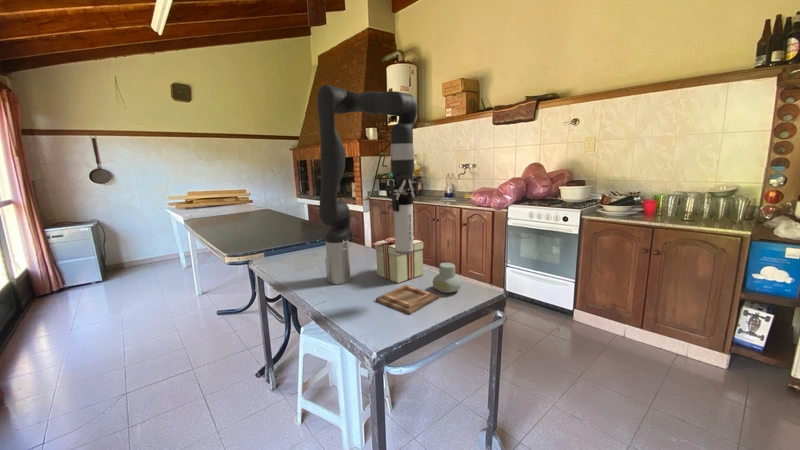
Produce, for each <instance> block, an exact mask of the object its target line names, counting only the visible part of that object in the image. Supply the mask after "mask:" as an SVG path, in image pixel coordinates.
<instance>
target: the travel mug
mask: <svg viewBox="0 0 800 450" xmlns="http://www.w3.org/2000/svg"><path fill="white" fill-rule="evenodd" d="M396 194H397V193H396ZM396 194H395V196H396ZM413 199H414V198H413V197H412V196H409V195H406V194H403V193H401V194H400V196H399V199H398V200H399V211H397V212H396V211H393V218H394V220H393V222H394V238H395V252H396V253H397V254H401V255H407V254H411V253H413V236H414V213H413V212H414V205H413V202H412V201H413ZM412 205H413V206H412Z"/></svg>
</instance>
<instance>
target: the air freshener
mask: <svg viewBox="0 0 800 450" xmlns="http://www.w3.org/2000/svg"><path fill="white" fill-rule="evenodd" d="M462 285H463V283H462V279H461V277H459V276H458V275H457V274H456V265H455V264H454V263H452V262H442V263H440V264H439V271H438V274H437V275H436V276H434V278H433V279H432V286H433V287H434V288H435V289H436V290H437V291H439V292H440V293H442V294H443V293H444V294H451V293H454V292H455V293H456V292H457V291H458V290H460V289H461V288H462Z"/></svg>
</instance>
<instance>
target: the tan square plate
mask: <svg viewBox="0 0 800 450" xmlns="http://www.w3.org/2000/svg"><path fill="white" fill-rule="evenodd" d="M439 299H440V295H439V294H435V293H433V292H429V291H426V290H423V289H420V288H417V287H414V286H411V285H407V284H404V285H402V286H400V287H398V288H394V289H393V290H391V291H389V292H386V293H384V294H381V295H380V296H378V297H376V298H375V301H376V302H378V303H380V304H382V305H386V306H387V307H390V308H393V309H395V310H398V311H401V312H403V313H406V314H407V315H408V314H409V315H412V314H414V313H416V312H417V311H419V310H421V309H423V308H424V307H426V306H428V305H430V304H431V303H433V302H435V301H437V300H439Z"/></svg>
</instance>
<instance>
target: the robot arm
mask: <svg viewBox="0 0 800 450" xmlns="http://www.w3.org/2000/svg"><path fill="white" fill-rule="evenodd" d="M316 97H317V98H316V99H317V100H316V101H317V103H316V105H317V113H318V123H319V137H320V195H319V205H318V206H319V208H318V212H319V213H318V214H319V218H320V221H321V223H323V225H325V226H330V228H329V230H327V232H326V233H325V235H324V239H325V240H324V241H325V252H326V253H325V254H326V256H325V269H326V270H325V271H326V281H328V283H330V284H333V285H341V284H342V285H343V284H347V283H348V282H350V281H351V263H350V262H351V261H350V243H349V240H350V239H349V235H350V232H351V213H350V211H351V210H350V208H349V205H348V204H347V202H345V201H344V200H340V199H337V198H338V188H339V185H340V183H341V180H342V178H343V177H344V176H343V175H344V173H345V169H346V149H345V146H344V144H343V141H342V140H341V138H340V136H339V134H338V131H337V128H336V123H335V114H336V115H342V114H343V115H344V114H348V113H354V112H355V113H356V112H357V113H359V112H360V113H363V114H369V115H370V114H371V115H379V116H380V115H383V116H384V115H388V116H394V117H398V120H397V121H398V122H397V124H394V125H392V127H391V128H390V173H391V174H392V178H391V179H385V180H384V181H385V183H384V184H385V190H386V191H385V193H386V198H387V199H390V200H391V203H392V205H391V207H392V208H391V209H392V212H394V211H396V212H397V211H399V200H398V199H399V196H400V194H403V193H402V192H405V195H409V196H412V197H413V201H412V202H413V205H412V206H413V207H414V204H415V203H414V201H415V200H414V199H415V196H418V194H419V186H420V185H419V184H420V183H419V182H420V181H419V180H420V178H419V177H415V176H413V174H414V173H415V149H414V127H415V124H416V118H417V115H418V114H417V113H418V102H417V100H416V98H415V97H414V96H413V94H411V93H405V92H401V91H396V90H395V91H393V90H389V91H364V92H360V93H359V92H358V93H357V92H352V91H349V90H346V89H344V88H342V87H338V86H334V85H328V84H323V85H321V86H320V87H319V89H318V92H317V96H316ZM395 194H396V196H395Z"/></svg>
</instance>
